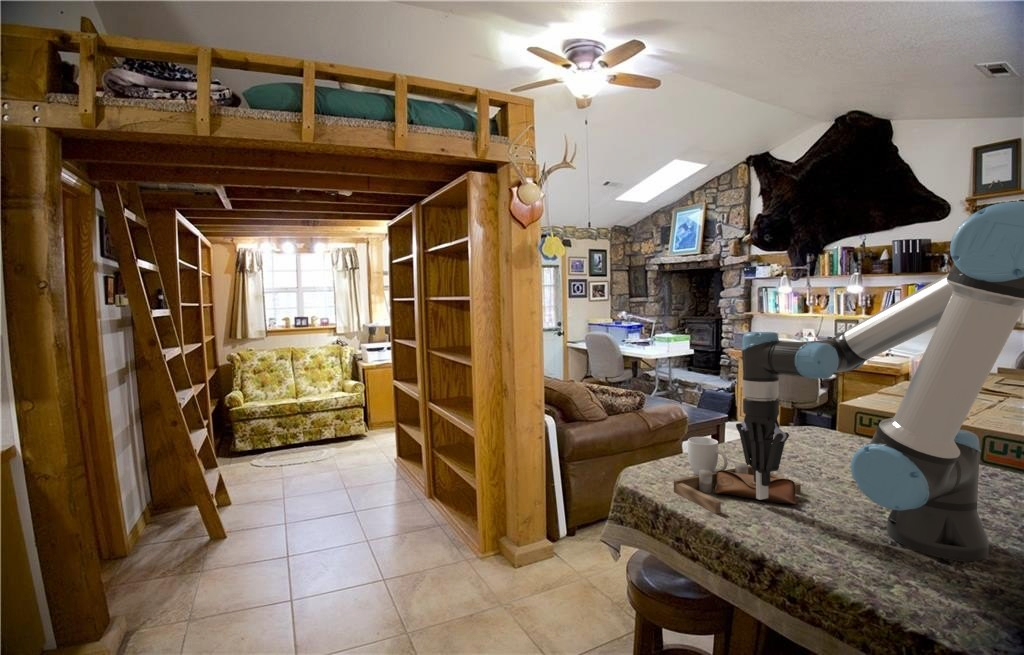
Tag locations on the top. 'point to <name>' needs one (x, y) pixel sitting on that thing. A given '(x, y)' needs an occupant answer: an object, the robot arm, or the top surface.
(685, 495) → the rail board
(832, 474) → the top surface
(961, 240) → the robot arm
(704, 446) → the mug
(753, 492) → the sunglasses case
